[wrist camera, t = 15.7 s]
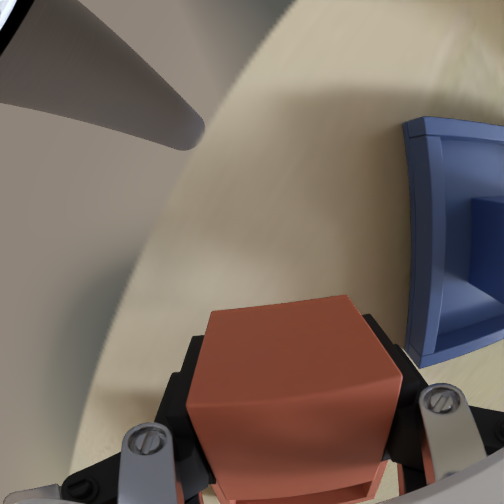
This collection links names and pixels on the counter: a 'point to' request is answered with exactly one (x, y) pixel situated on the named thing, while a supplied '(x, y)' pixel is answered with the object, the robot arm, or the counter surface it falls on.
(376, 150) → the counter surface
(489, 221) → the blue block
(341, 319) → the terracotta block
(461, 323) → the blue tray
